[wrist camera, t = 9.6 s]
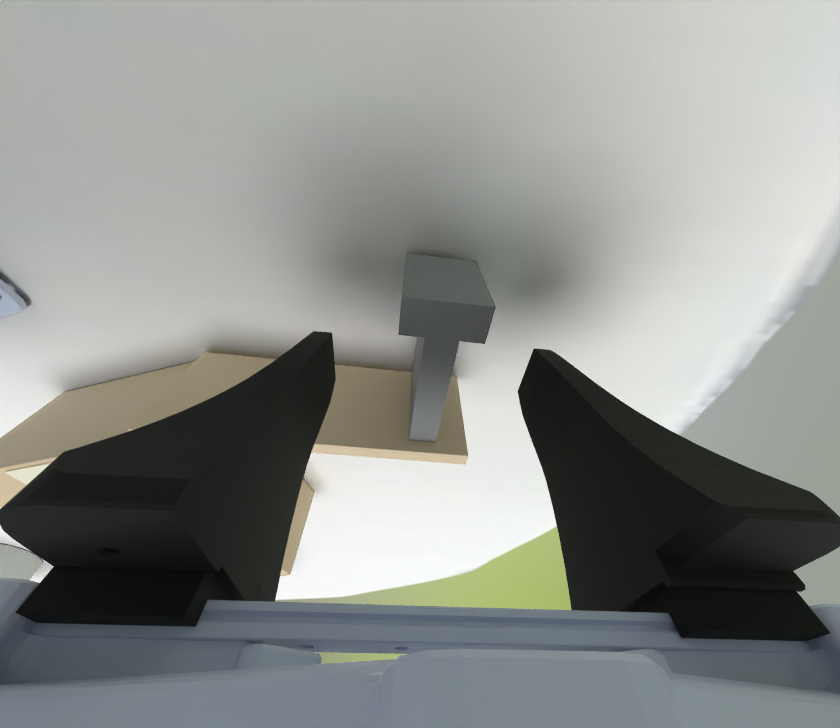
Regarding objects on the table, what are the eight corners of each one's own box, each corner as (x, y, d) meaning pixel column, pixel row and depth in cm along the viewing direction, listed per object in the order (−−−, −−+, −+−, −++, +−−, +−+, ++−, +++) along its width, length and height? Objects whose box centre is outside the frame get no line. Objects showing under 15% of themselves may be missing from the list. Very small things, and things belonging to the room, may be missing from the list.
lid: (206, 360, 17) (134, 438, 13) (156, 218, 13) (19, 262, 9) (454, 384, 18) (465, 464, 14) (485, 259, 14) (515, 317, 9)
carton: (64, 391, 19) (-59, 481, 14) (203, 359, 18) (120, 446, 13) (209, 507, 27) (163, 590, 22) (314, 492, 26) (289, 576, 21)
